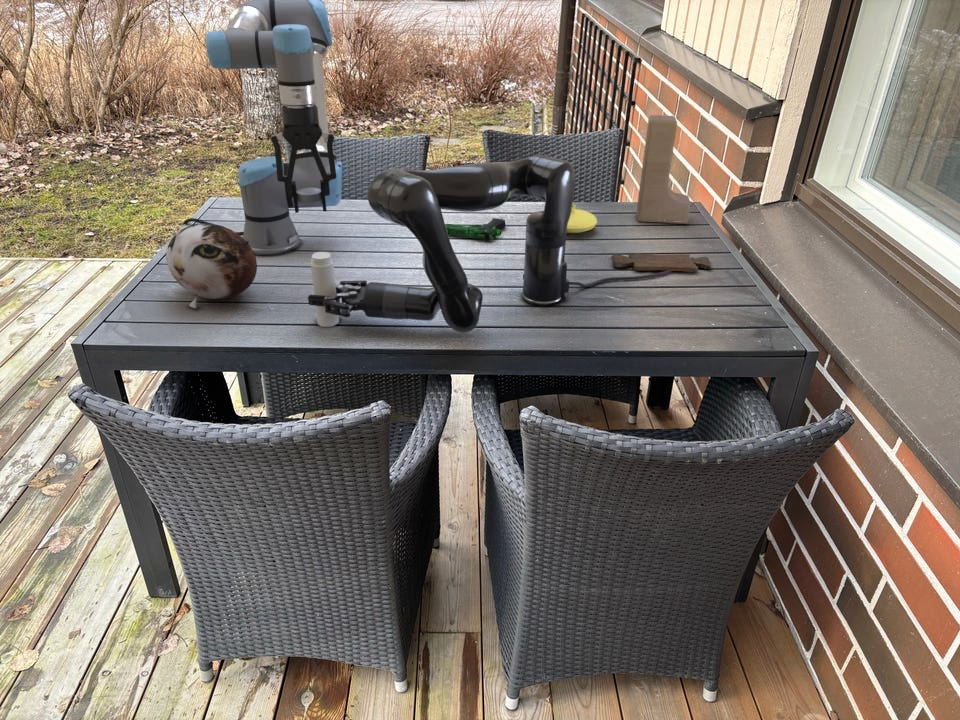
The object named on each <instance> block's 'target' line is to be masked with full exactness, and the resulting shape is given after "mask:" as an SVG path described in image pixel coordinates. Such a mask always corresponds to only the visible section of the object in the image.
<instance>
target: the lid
mask: <svg viewBox="0 0 960 720" xmlns="http://www.w3.org/2000/svg"><path fill="white" fill-rule="evenodd" d="M296 193H297V200H298V201H299V202H303V203H313V202H318V201H320V200H321V199H322V195H321V190H320V189H318V188H303V189H299V190H297V191H296Z"/></svg>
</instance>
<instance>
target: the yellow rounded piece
mask: <svg viewBox="0 0 960 720" xmlns="http://www.w3.org/2000/svg"><path fill="white" fill-rule="evenodd" d="M597 223H598V219H597V217H596V215H595V214H593V213H591V212H589V211H587V210H584V209H578V208H576V205H575V204H572V209H571V215H570V219H569V221H568V224H567V233H566V234H580V233H584V232H585V233H586V232H587V231H591V230H592V229H594V228H596V226H597Z"/></svg>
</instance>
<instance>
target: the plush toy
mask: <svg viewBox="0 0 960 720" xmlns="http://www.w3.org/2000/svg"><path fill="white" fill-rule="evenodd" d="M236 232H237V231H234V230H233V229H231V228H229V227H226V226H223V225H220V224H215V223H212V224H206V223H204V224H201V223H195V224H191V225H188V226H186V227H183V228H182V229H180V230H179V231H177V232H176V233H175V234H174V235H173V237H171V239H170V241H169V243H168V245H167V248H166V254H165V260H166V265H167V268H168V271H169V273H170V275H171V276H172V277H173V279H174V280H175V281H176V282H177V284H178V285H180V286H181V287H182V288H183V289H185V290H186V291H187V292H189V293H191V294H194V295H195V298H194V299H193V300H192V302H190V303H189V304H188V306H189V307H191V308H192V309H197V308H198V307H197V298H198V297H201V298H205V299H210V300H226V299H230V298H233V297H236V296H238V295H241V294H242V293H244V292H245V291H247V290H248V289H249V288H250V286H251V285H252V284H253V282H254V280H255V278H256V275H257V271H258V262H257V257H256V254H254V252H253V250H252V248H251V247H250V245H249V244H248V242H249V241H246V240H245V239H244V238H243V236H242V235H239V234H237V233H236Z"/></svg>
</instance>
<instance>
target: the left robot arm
mask: <svg viewBox="0 0 960 720" xmlns="http://www.w3.org/2000/svg"><path fill="white" fill-rule="evenodd" d="M332 45H333V37H332V32H331V27H330V22H329V16H328V12H327V8H326V4H325V2H324V0H248V1H246V2H243V3H242V4H240V5H238V6H237V7H235V9H233V10H232V12H231V14H230V16H229V18H228V26H227V27H226V29H225V30H220V29H219V30H215V31H208V32H207V33H206V35H205V48H206V54H207V58H208V62H209V64H210V67H212V68H213V69H215V70H217V69H218V70H227V71H229V70H240V69H241V70H244V69H251V70H252V69H276V72H277V79H278V80H277V81H278V91H279V99H280V103H281V104H282V105H283V106H282V107H281V114H282V115H281V116H282V123H283V128H282V131H281V132H279V133H272V134H271V135H270V141H271V143H272V145H273V147H274V156H273V155H272V156H270V155H269V156H262V157H257V158H254V159H250V160H247V161H246V162H244V163H242V164H241V165H240V166H239V168H238V170H237V174H238V186H239V190H240V196H241V201H242V207H243V212H244V213H243V215H244V219H245V220H244V226H243V228H244V229H243V231H235V232H236V233H237V234H239V235H240V236H242V237H243V238H244V239H245V240H246V241H249V242H248V244H249V245H250V247H251V248H252V250H253V252H254V254H255V256H256V255H257V256H275V255H281V254H282V255H283V254H285V253H289V252H291V251H293V250H296V249H297V248H298V247H299V246H300V244H301V241H300V235H299V233H298V231H297V229H296V227H295V225H294V223H293V220H292V218H291V216H290V209H294V213H295V214H298V213H300V212H299V211H300V209H305V208H306V209H308V208H322V211H323V212H327V207H335V206H338V205H339V204H340V203H341V201H342V200H341V199H342V186H343V162H342V161H339V160H337V154H336V153H335V152H334V148H333V144H334V140H335V133H334V132H333V131H330V132H329V122H328V121H329V120H328V109H327V97H326V86H325V73H324V62H323V59H324V58H325V57H326V56H327V55H328V47H331V46H332ZM283 139H285V140H286V142H287V143H288V144H289V145H290V146H291V148H290V153H289V160H288V162H287V163H285V162H284V160H283V155H282V146H281V145H283ZM303 188H318V189H320V190H321V195H322V199H321V200H320V201H318V202H313V203H303V202H299V201H298V200H297V193H296V191H297V190H299V189H303ZM191 222H192V223H197V224H204V223H206V224H213V223H212V222H209V221H205V220H202V219H199V218H195V217H190V218H187V219H185V220H184V221H183V223H182V225H187V224H189V223H191Z"/></svg>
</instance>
